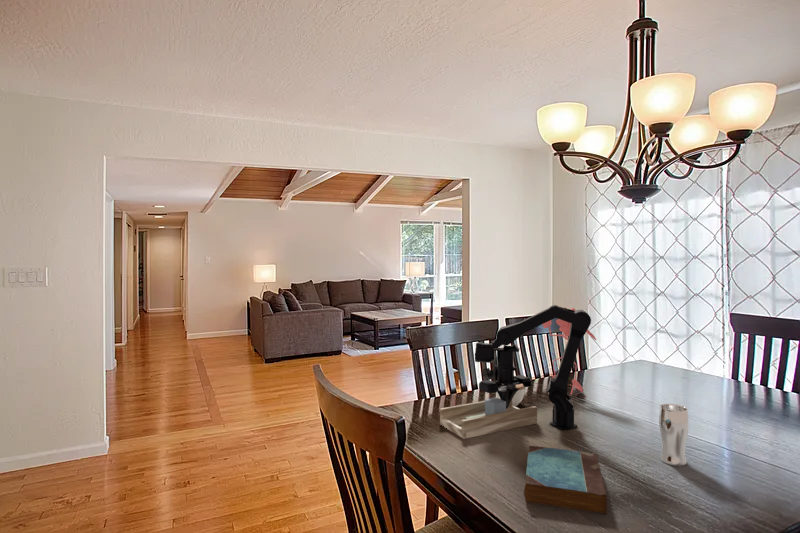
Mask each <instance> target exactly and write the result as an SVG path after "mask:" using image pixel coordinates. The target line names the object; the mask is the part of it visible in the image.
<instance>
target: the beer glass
mask: <svg viewBox="0 0 800 533" xmlns="http://www.w3.org/2000/svg"><path fill="white" fill-rule="evenodd" d="M659 405H660V408H659V415H658V416H659V420H658V425H659V432H660V436H661V442H662V443H661V444H662V450H661V455H660V459H661V461H662V462H663V463H665V464H667V465H670V466H674V467H675V466H676V467H684V466H686V465H687V458H686V445H687V439H688V433H689V412H688V411H689V409H688V408H687V407H685V406H684V405H680V404H674V403H661V404H659Z"/></svg>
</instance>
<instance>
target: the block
mask: <svg viewBox="0 0 800 533" xmlns="http://www.w3.org/2000/svg"><path fill="white" fill-rule="evenodd" d="M484 401H485V414H486V415H491V414H496V413H501V412H506V401H503V400H501V399H498V397H494V398H488V399H485V400H484Z"/></svg>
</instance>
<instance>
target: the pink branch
mask: <svg viewBox="0 0 800 533" xmlns="http://www.w3.org/2000/svg"><path fill="white" fill-rule="evenodd" d="M565 308H566V309H568V308H567V307H565ZM569 309H570V310H574V311H576V308H574V307H573V308H569ZM555 323H556V324H557V325H558V326H559V331H560V332H561V333H562V334H552V330H551V325H552V320H550V321H548V322H546V323H544V324H542V325H541V326H543V328H544V329H547V328H548V331H549V336H550V337H561V338H564V339H565V340H567V341H568V338H569V334H570V323H569V322H566V321H563V320H561V319H558V318H557V319H556V321H555ZM586 334H587V335H589V336H590V337H591V338H592V339H594V340H595V341H597V338H596V335H594V334H593V333H592V332H591V331H590V330H589V329H588V330H587V332H586ZM562 357H563V356H561V357H558V358H555V359H553V360H552V366H553V373H554V375H552V376H551V377H553V378H555V376H556V375H557V374H556V370H555V364H554V363H555V362H556V361H558V360H561V359H562ZM573 365H575V370H574V371H575V373H574V379H571V383H572V385H571V386H572V387H571V391H570V394H569V396H570V395H571V396H572V395H573V392H574V388H576V389H577V390H578V391H579V392H580V393H582V394H583V393H584V387H582V385H581V384H580V382H579V381H577V366H578V365H577V363H576V362H575V361H574V364H573ZM582 398H583V399H584V398H587V397H586V396H584V397H583V396H582Z"/></svg>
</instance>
